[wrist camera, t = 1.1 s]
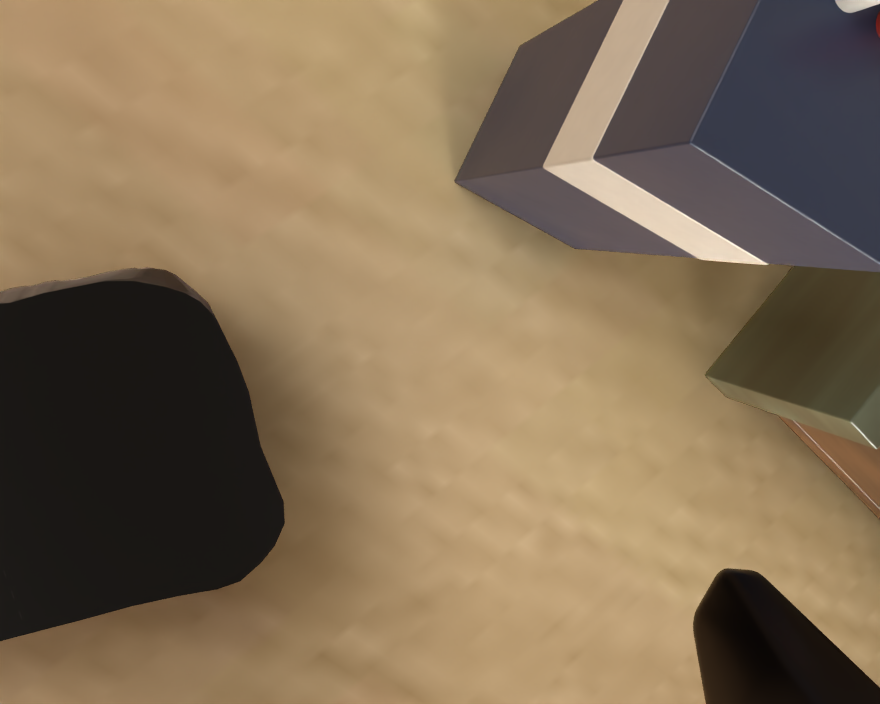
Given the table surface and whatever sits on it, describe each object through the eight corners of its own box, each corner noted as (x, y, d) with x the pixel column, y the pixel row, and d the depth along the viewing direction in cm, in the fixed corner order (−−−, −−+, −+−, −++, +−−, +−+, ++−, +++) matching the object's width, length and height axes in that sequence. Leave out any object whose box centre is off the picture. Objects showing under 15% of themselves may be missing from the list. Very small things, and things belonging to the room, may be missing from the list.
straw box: (576, 250, 25) (1040, 289, 11) (451, 182, 24) (799, 126, 10) (639, 119, 25) (1193, -13, 11) (519, 43, 24) (971, -223, 9)
